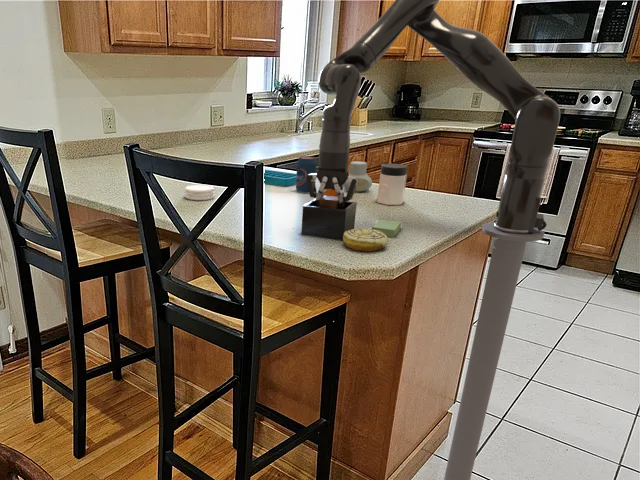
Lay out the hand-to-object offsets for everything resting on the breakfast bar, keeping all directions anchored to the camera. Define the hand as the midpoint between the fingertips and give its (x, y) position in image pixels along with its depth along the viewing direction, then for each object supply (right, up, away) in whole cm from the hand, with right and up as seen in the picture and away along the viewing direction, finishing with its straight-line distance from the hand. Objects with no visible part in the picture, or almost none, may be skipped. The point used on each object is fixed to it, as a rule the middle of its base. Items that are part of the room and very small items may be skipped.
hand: (329, 214), depth 141 cm
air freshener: (+18, +17, +51) cm, 57 cm away
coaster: (-38, +12, +39) cm, 56 cm away
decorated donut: (+7, -10, -9) cm, 15 cm away
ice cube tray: (-11, +23, +65) cm, 70 cm away
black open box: (0, -5, +2) cm, 5 cm away
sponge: (+16, -4, +3) cm, 17 cm away
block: (0, 0, 0) cm, 0 cm away
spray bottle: (+6, +10, +35) cm, 37 cm away
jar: (+26, +9, +34) cm, 44 cm away
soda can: (0, +16, +49) cm, 52 cm away
